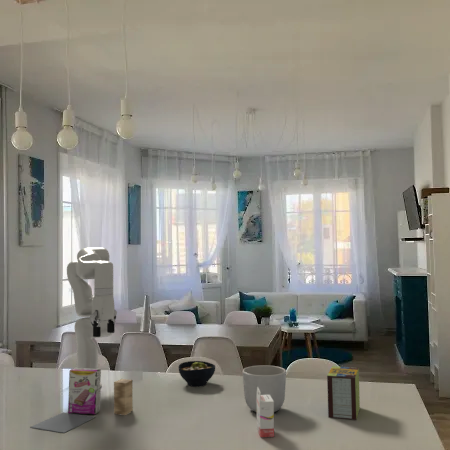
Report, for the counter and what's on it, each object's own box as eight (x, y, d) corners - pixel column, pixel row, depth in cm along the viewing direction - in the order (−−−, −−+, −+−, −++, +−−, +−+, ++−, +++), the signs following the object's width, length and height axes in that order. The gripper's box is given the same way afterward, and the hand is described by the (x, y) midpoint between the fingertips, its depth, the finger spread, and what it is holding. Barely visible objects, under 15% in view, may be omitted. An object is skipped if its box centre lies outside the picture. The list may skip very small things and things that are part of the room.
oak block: (114, 413, 194) (114, 382, 195) (121, 409, 199) (121, 378, 199) (125, 415, 192) (125, 383, 193) (132, 411, 197) (132, 380, 197)
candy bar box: (67, 413, 194) (68, 370, 195) (72, 410, 199) (73, 367, 200) (95, 414, 193) (96, 370, 194) (100, 411, 198) (101, 368, 199)
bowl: (187, 391, 223) (187, 368, 223) (173, 382, 238) (172, 361, 239) (222, 386, 231) (221, 364, 231) (205, 377, 246) (205, 357, 246)
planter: (262, 400, 208) (262, 363, 209) (295, 409, 196) (295, 369, 197) (233, 410, 196) (233, 370, 197) (267, 420, 184) (266, 378, 185)
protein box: (360, 407, 198) (359, 367, 199) (356, 420, 183) (355, 377, 184) (332, 405, 201) (331, 365, 202) (327, 417, 187) (326, 375, 187)
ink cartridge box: (275, 437, 168) (274, 392, 169) (260, 438, 168) (259, 392, 168) (270, 428, 176) (269, 385, 177) (256, 428, 176) (255, 385, 177)
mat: (30, 427, 180) (30, 426, 180) (63, 413, 196) (63, 412, 196) (63, 433, 174) (63, 432, 174) (95, 417, 190) (95, 416, 190)
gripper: (108, 290, 215) (108, 330, 215) (82, 294, 199) (83, 338, 198) (123, 290, 213) (123, 331, 212) (99, 294, 197) (99, 339, 196)
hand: (104, 334), depth 205 cm, fingers open, 9 cm apart
